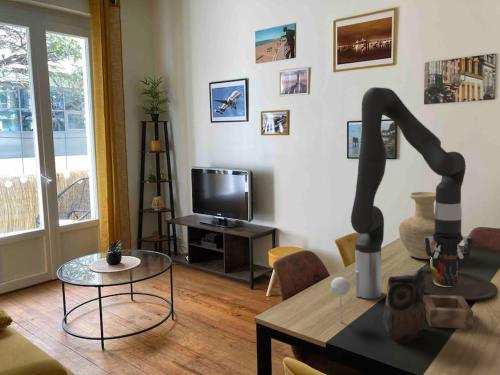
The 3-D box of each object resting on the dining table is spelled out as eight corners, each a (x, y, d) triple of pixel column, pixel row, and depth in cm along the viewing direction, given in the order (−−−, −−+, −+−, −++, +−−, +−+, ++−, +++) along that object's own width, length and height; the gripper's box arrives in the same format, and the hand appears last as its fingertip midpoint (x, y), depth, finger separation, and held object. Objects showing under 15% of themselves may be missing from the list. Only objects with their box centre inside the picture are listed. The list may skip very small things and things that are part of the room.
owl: (426, 327, 128) (427, 264, 125) (427, 347, 116) (428, 279, 114) (383, 322, 133) (383, 262, 130) (380, 341, 121) (380, 275, 118)
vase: (406, 247, 211) (406, 189, 207) (454, 253, 198) (455, 191, 194) (392, 259, 193) (392, 196, 189) (445, 267, 180) (446, 199, 176)
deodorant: (459, 286, 128) (460, 239, 126) (439, 286, 129) (439, 239, 127) (454, 279, 133) (455, 234, 131) (434, 279, 134) (435, 234, 132)
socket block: (430, 326, 128) (430, 309, 127) (422, 310, 140) (423, 294, 139) (472, 329, 125) (473, 311, 125) (461, 311, 137) (462, 296, 136)
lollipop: (346, 328, 130) (345, 282, 128) (328, 324, 133) (327, 279, 131) (352, 319, 135) (352, 275, 133) (335, 316, 138) (334, 273, 136)
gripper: (425, 219, 126) (425, 272, 128) (477, 219, 123) (475, 273, 125) (420, 214, 133) (420, 264, 136) (469, 214, 130) (468, 265, 132)
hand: (447, 268), depth 130 cm, fingers closed on deodorant, 6 cm apart
